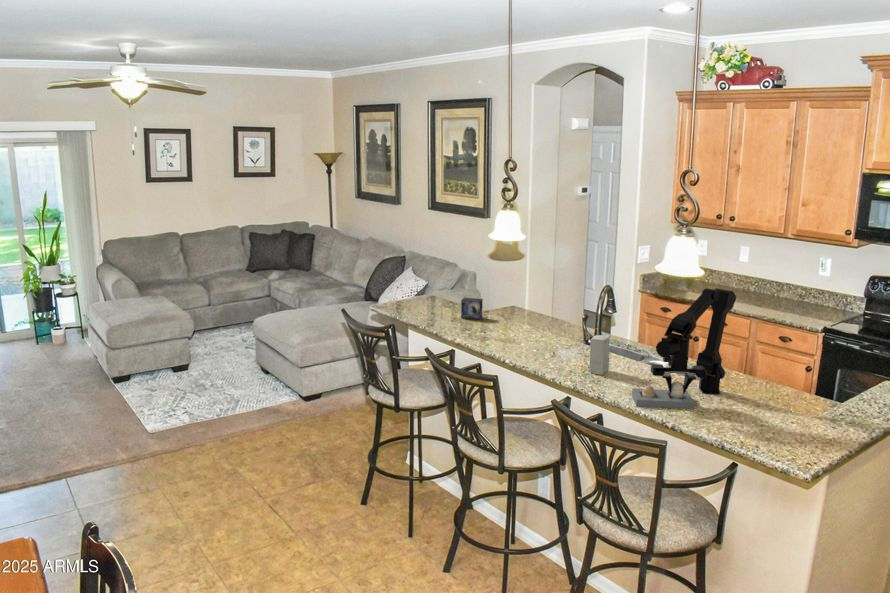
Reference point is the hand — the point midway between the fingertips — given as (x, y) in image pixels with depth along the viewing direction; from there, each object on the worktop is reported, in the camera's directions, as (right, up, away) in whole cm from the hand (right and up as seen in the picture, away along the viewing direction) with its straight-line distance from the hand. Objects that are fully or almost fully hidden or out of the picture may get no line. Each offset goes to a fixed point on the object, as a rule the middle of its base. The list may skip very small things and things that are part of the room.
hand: (676, 393), depth 255 cm
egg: (0, -1, 0) cm, 1 cm away
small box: (-70, +23, +122) cm, 142 cm away
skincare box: (-21, +4, +35) cm, 41 cm away
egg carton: (-5, -3, +1) cm, 6 cm away
